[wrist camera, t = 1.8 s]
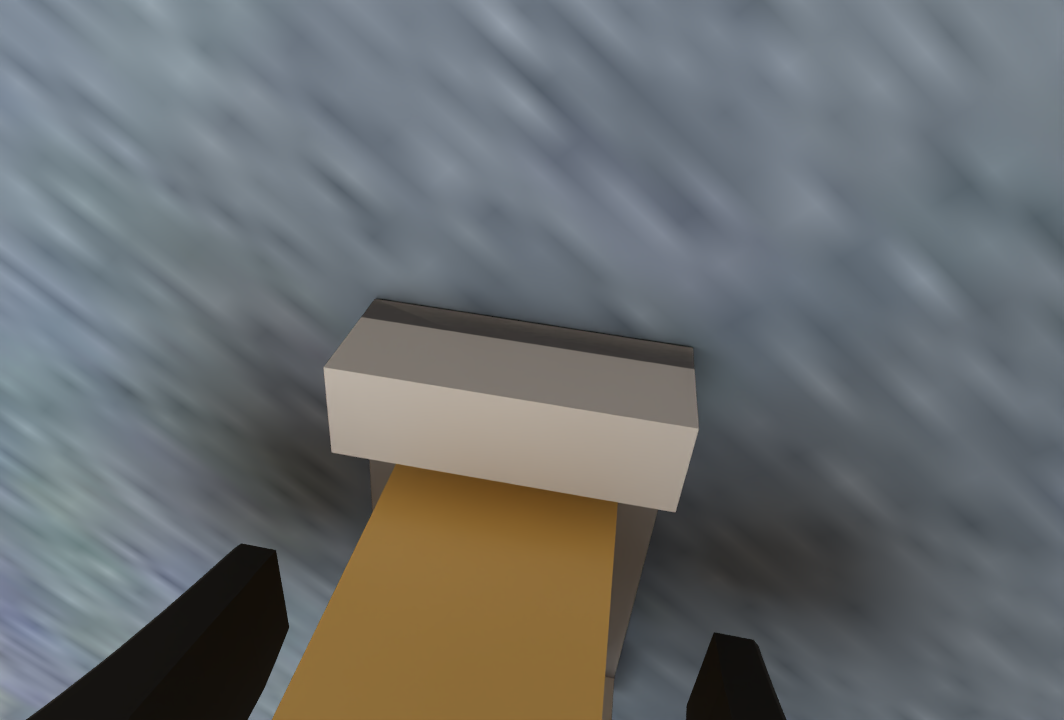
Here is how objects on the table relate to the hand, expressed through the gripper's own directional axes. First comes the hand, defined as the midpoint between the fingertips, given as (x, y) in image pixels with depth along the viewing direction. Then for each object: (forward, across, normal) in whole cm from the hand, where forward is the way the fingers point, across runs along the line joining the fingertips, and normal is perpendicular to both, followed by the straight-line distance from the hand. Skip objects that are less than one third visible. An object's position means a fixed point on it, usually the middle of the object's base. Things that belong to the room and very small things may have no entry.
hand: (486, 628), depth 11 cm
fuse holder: (+2, 0, 0) cm, 2 cm away
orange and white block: (+2, 0, 0) cm, 2 cm away
